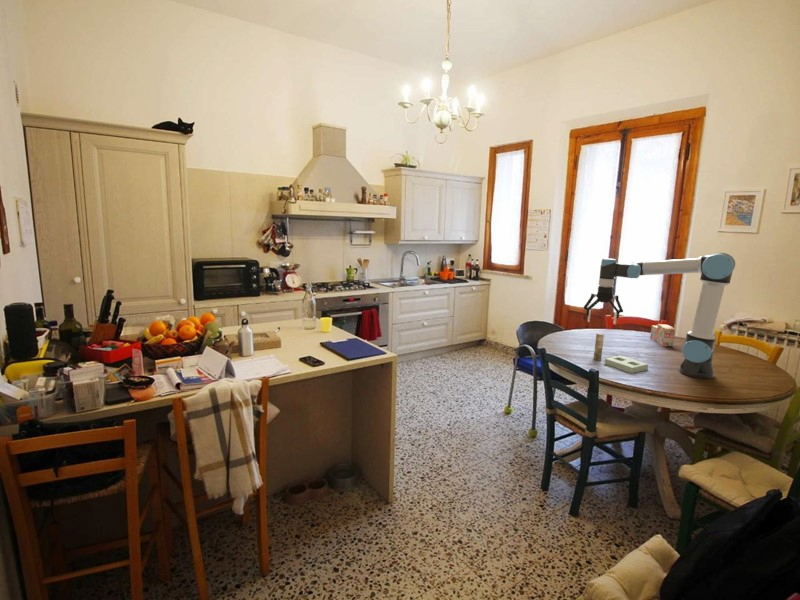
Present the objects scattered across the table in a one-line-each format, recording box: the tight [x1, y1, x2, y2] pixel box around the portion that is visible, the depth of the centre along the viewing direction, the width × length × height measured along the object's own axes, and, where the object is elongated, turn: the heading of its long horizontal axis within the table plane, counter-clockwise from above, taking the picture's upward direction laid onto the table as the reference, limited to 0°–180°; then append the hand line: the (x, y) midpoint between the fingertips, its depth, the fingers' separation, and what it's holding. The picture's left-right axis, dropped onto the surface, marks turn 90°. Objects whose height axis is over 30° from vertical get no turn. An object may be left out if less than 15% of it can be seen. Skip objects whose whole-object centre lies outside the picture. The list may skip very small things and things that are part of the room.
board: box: [604, 355, 649, 374], centre depth 228 cm, size 16×14×3 cm
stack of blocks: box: [649, 323, 676, 348], centre depth 279 cm, size 21×6×12 cm, turn 169°
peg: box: [593, 333, 605, 361], centre depth 239 cm, size 4×4×15 cm
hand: (601, 322), depth 236 cm, fingers open, 13 cm apart
